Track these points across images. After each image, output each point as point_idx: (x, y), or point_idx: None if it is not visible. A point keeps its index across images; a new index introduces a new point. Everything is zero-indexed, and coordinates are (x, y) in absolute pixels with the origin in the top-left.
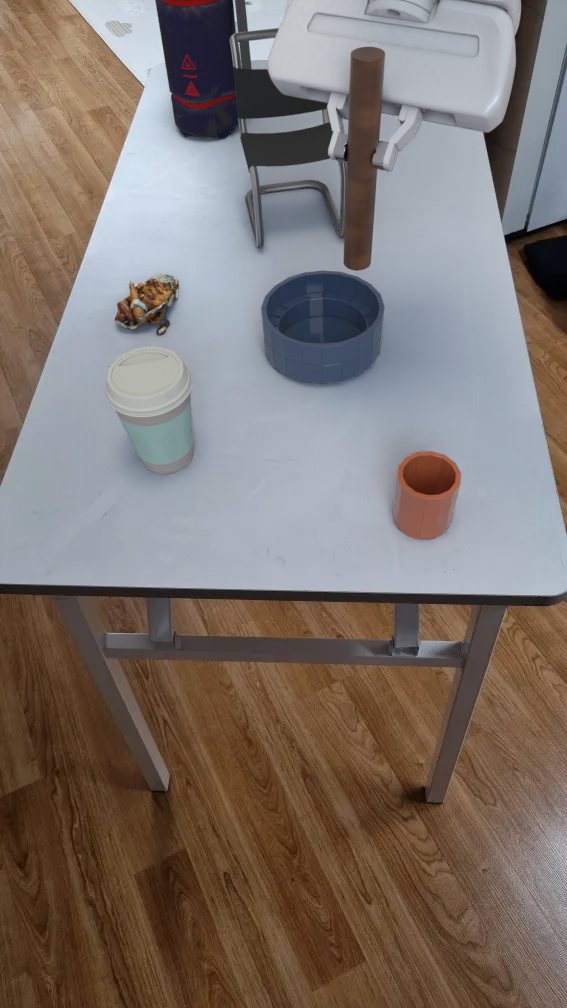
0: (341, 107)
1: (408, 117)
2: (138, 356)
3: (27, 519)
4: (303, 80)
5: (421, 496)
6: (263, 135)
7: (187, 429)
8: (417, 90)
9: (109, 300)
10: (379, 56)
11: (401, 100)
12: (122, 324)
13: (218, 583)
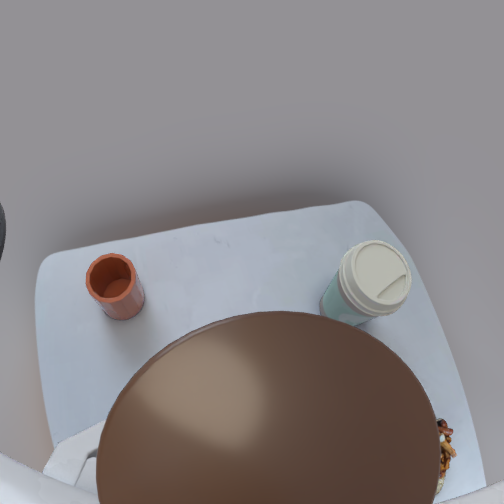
0: None
1: (74, 461)
2: (399, 293)
3: (385, 235)
4: (489, 490)
5: (115, 254)
6: None
7: (329, 292)
8: (22, 500)
9: (458, 446)
10: (138, 440)
11: (90, 492)
12: (439, 419)
13: (252, 217)
